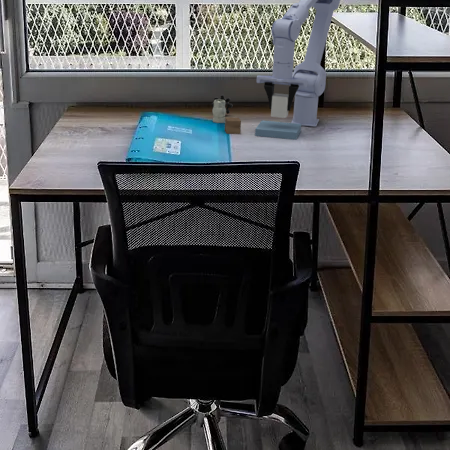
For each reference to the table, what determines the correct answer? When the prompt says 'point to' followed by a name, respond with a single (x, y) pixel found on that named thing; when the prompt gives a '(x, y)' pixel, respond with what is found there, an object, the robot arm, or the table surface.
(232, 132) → the walnut block
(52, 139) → the table surface
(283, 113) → the white block
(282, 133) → the base board
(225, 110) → the valve
